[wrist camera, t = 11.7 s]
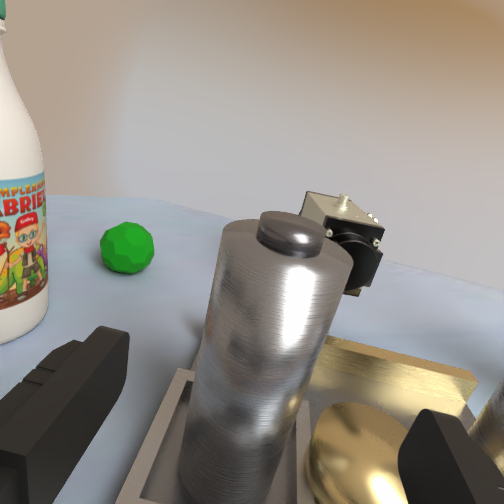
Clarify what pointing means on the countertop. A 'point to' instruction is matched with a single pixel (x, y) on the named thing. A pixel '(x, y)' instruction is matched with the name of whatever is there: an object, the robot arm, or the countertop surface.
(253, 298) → the cylinder
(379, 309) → the countertop surface
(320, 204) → the pneumatic valve
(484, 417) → the carrier plate
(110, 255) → the polyhedron
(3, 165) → the milk bottle
